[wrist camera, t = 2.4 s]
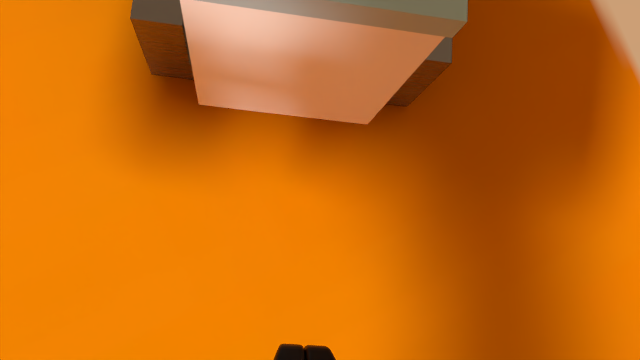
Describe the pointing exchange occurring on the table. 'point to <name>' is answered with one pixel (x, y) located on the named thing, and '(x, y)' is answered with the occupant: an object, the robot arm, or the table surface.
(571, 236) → the table surface
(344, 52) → the plunger key
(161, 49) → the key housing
